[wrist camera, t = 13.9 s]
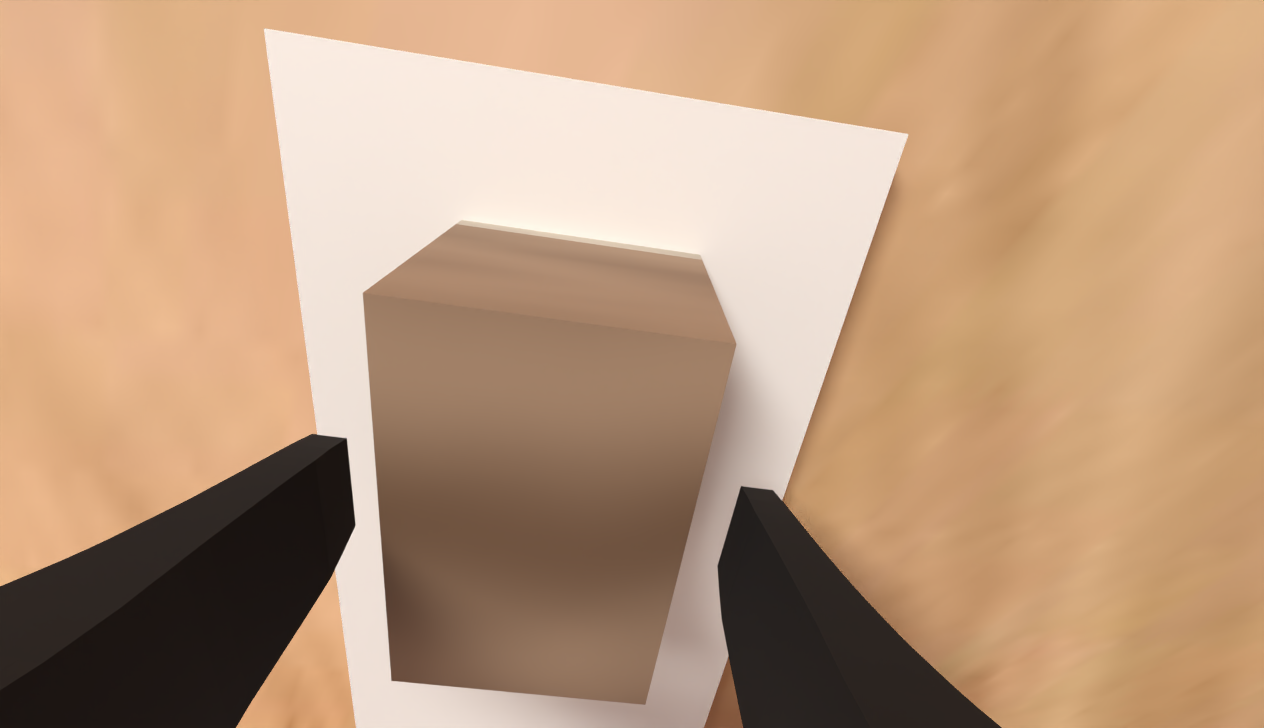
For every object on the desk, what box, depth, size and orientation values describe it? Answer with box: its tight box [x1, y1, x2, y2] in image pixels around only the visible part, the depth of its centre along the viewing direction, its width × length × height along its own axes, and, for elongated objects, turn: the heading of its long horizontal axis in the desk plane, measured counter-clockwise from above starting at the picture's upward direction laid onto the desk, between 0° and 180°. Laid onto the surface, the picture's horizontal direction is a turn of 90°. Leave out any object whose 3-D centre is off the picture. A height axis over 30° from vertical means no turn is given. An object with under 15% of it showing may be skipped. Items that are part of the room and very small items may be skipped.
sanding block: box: [363, 220, 736, 705], centre depth 11 cm, size 8×5×5 cm, turn 172°
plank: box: [264, 28, 908, 728], centre depth 16 cm, size 26×12×1 cm, turn 172°
